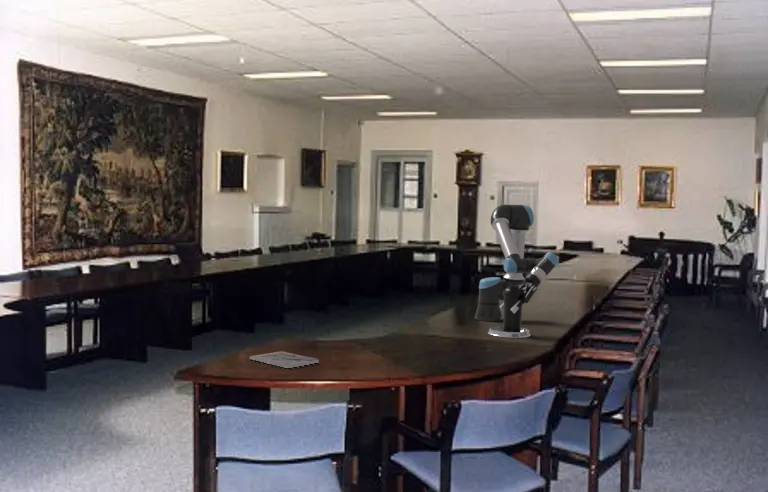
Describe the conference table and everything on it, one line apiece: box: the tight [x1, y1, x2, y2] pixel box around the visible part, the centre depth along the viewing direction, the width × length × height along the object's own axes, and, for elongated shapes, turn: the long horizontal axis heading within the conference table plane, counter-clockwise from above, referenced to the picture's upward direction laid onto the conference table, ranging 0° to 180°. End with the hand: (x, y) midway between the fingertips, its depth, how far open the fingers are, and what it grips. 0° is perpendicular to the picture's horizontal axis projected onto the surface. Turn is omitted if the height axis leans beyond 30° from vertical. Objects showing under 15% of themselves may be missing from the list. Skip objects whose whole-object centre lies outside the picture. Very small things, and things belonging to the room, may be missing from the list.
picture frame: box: [249, 350, 320, 369], centre depth 309 cm, size 16×2×22 cm
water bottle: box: [502, 285, 524, 332], centre depth 393 cm, size 10×10×23 cm
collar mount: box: [487, 325, 531, 339], centre depth 393 cm, size 21×21×2 cm
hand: (507, 310), depth 392 cm, fingers closed on water bottle, 9 cm apart
